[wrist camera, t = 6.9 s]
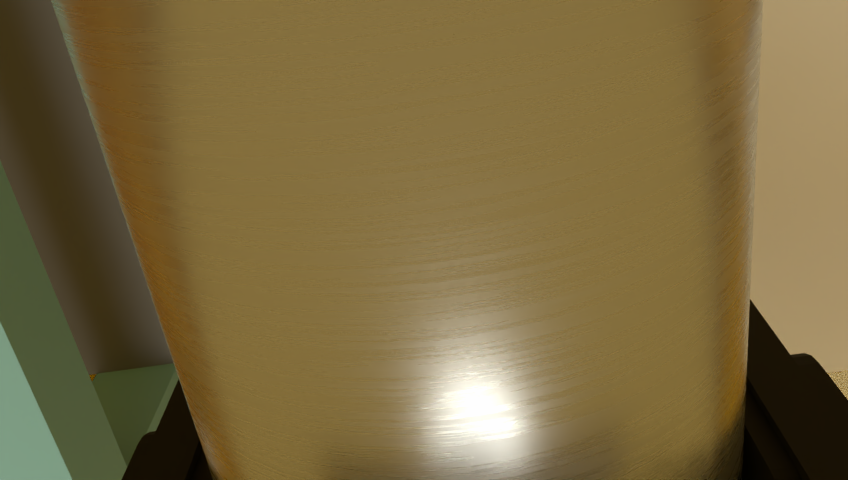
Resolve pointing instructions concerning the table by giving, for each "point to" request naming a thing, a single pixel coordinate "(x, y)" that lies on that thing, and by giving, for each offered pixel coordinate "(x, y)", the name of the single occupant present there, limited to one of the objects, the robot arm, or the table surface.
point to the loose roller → (440, 228)
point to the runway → (66, 276)
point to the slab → (803, 179)
